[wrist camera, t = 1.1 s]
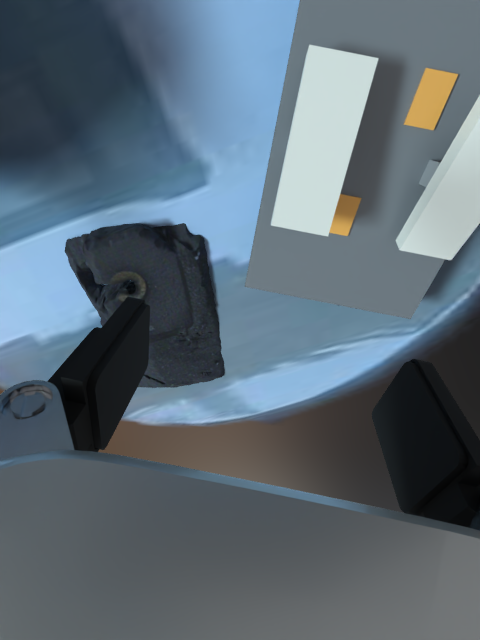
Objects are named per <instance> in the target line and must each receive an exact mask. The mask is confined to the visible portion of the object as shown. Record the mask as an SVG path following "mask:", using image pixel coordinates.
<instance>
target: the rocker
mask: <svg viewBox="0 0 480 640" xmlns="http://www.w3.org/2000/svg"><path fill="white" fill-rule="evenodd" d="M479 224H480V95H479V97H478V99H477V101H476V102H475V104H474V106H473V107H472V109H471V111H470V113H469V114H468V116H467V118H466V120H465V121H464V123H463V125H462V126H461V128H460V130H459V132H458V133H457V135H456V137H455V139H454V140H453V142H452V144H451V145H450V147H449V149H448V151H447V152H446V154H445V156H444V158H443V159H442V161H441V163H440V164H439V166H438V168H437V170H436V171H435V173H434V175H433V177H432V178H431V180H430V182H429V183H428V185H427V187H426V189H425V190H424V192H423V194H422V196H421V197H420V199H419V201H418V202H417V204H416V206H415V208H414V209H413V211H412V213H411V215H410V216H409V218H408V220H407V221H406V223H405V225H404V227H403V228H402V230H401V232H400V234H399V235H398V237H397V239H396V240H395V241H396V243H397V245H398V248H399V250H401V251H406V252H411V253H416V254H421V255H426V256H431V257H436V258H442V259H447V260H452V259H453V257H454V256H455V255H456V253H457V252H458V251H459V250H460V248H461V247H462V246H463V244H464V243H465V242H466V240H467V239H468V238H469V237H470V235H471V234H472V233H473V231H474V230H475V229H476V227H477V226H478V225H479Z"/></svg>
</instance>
